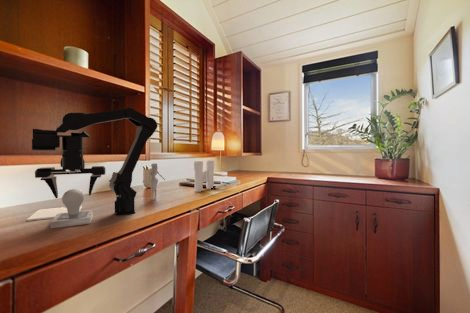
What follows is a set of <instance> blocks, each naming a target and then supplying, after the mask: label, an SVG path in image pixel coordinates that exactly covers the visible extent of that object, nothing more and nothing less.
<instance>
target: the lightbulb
mask: <svg viewBox="0 0 470 313" xmlns="http://www.w3.org/2000/svg"><path fill="white" fill-rule="evenodd" d="M84 199H85V194H84V193H83V191H81V190H80V189H78V188H77V189H75V188H71V189H69V190H66V191H65V192H64V193H63V195H62V197H61V202H62V204H63V206H65V207H66V208H67V211H68V214H69V219H73V218H78V213H79V209H80V206H82V204H83V202H84V201H85V200H84Z"/></svg>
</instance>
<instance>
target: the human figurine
mask: <svg viewBox="0 0 470 313" xmlns="http://www.w3.org/2000/svg"><path fill="white" fill-rule="evenodd" d="M157 175H159V177H161V178H162V179H163V181H165V180H166V179H165V177H163V175H161V174H160V172H159V171H158V164H157V163H151V170H150V172H149V173H148V175H147V176H146V177H145V178H144V179H143V180H142V184H144V183H145V181H146V180H147V179H148V178H149V177H150V176H151V178H150V181H149V185H150V189H151V192H150V193H151V199H150V201H157V187H158V185H159V184H158V182H159V178H157V177H156V176H157Z"/></svg>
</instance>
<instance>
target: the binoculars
mask: <svg viewBox="0 0 470 313" xmlns="http://www.w3.org/2000/svg"><path fill="white" fill-rule="evenodd" d="M205 169H206V170H204V161H203V160H194V161H193V170H194V192H196V193H201V191H202V192H203V187H204V186H203V183H206V184H205V186H206V187H205V188H206V189H207V190H212V189H211V188H213V185H214V186H215V183H214V179H215V178H214V175H215V171H214V169H215V160H214V159H213V160H211V159H206V160H205ZM213 189H214V188H213Z"/></svg>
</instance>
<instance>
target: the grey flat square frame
mask: <svg viewBox="0 0 470 313" xmlns="http://www.w3.org/2000/svg"><path fill="white" fill-rule="evenodd" d="M93 216H94V209H90V210H89V209H88V210H80V211H79V213H78V218H73V219H69V214H68V212H67V213H58V214H57V215H56V216H55V217H54V218H52V219H51V220H50V222H49V229H57V228H65V227H73V226H80V225H88V224H89V225H90V224H91V222H92V220H93Z"/></svg>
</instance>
